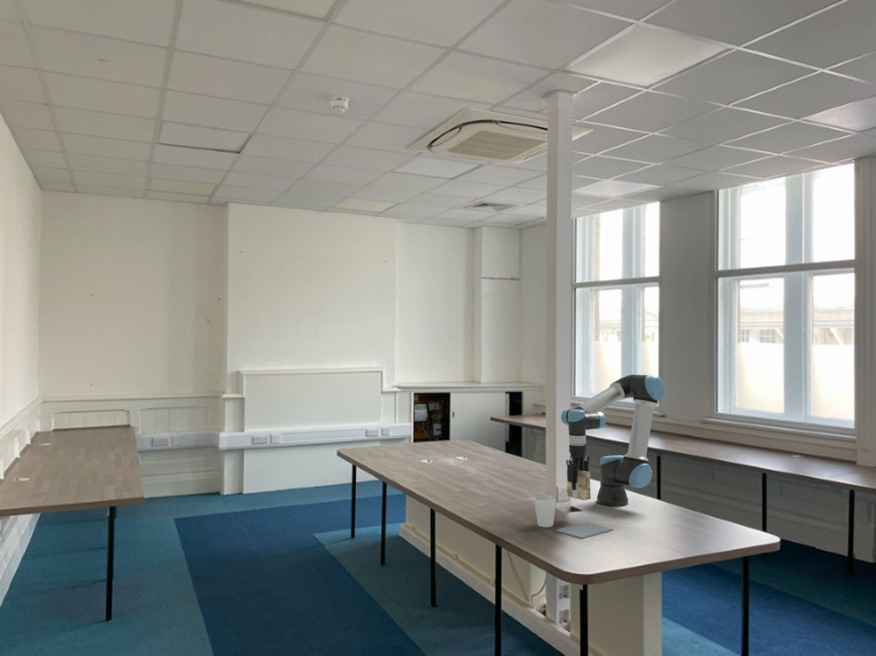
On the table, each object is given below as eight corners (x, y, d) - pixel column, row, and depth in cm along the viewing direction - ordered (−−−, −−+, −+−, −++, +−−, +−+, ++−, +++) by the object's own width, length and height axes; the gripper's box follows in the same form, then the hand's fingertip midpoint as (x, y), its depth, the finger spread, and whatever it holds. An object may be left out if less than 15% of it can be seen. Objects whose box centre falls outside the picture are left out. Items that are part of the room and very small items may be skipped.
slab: (573, 494, 303) (572, 468, 303) (590, 498, 295) (589, 472, 296) (567, 496, 301) (566, 470, 301) (584, 500, 293) (583, 473, 293)
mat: (587, 523, 291) (587, 521, 291) (613, 530, 280) (613, 528, 280) (556, 531, 279) (555, 529, 279) (581, 538, 268) (581, 537, 268)
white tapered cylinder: (556, 523, 291) (556, 495, 291) (554, 528, 282) (554, 500, 283) (536, 521, 293) (536, 494, 294) (533, 527, 285) (533, 499, 285)
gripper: (583, 441, 307) (585, 491, 306) (558, 445, 296) (559, 497, 296) (596, 442, 301) (597, 494, 300) (571, 447, 290) (572, 500, 290)
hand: (578, 495), depth 298 cm, fingers closed on slab, 4 cm apart
